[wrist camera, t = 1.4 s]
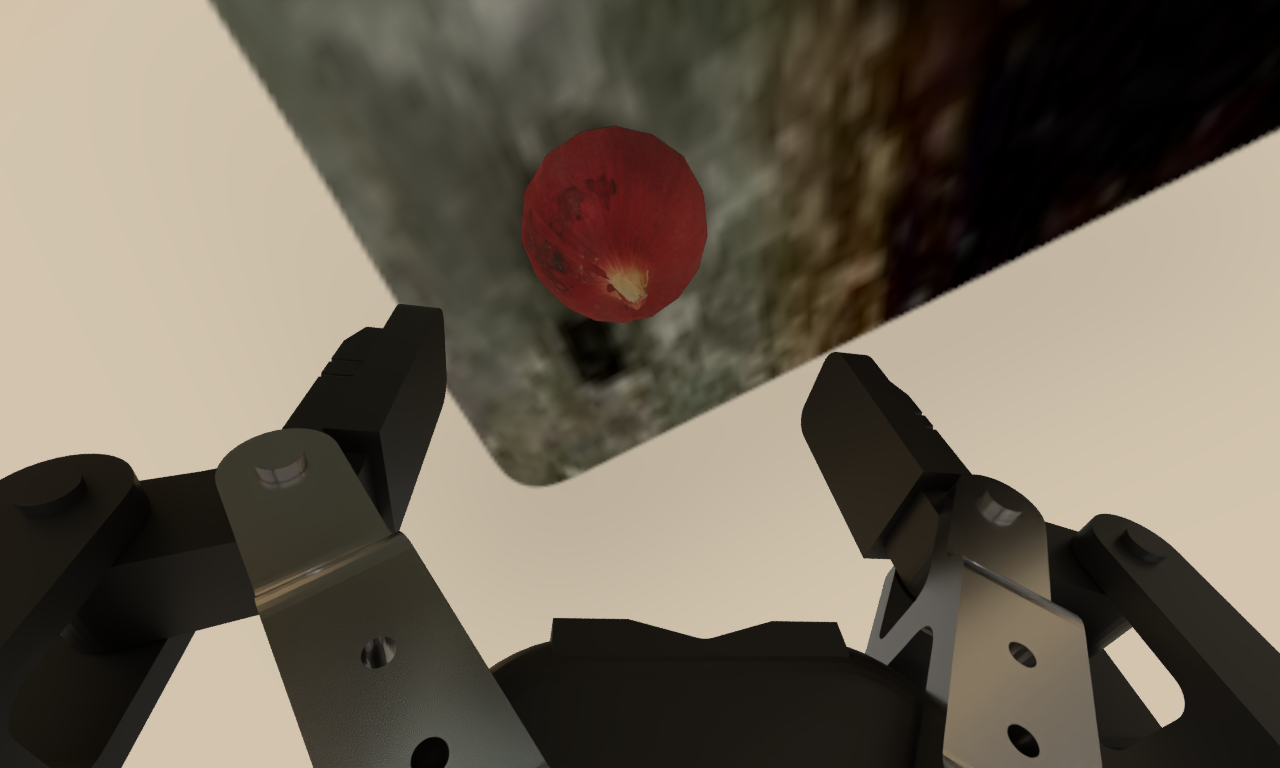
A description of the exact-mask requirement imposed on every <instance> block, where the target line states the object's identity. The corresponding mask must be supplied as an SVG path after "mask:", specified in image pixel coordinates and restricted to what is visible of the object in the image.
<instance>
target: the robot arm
mask: <svg viewBox="0 0 1280 768" xmlns="http://www.w3.org/2000/svg"><path fill="white" fill-rule="evenodd" d="M446 381H447V373H446V354H445V336H444V318H443V313H442V310H441V309H440V308H433V307H423V306H414V305H405V304H398V305H397V306H396V308H395V310H394V311H393V313H392V315H391V316H390V318H389V320H388V321H387V323H386V324H385V326H384V328H372V327H366V328H364V329H362V330H360V331H359V332H357V333H356V334H354V335H352V336H351V337H349V338H347V339H346V340H344V341H343V343H342V344H341V346H340V347H339V348H338V350H337V351H336V353H335V354H334V355H333V357H332V361H331V362H329V363H328V364H327V365H326V367H325V368H324V370H323V371H322V373H321V377H318V378H317V380H316V381H315V383H314V384H313V386H312V387H311V388H310V390H309V391H308V393H307V394H306V395H305V397H304V398H303V400H302V401H301V403H300V404H299V406H298V407H297V408H296V410H295V411H294V413H293V414H292V415H291V417H290V418H289V420H288V421H287V423H286V424H285V426H284V427H283V428H282V430H276V431H272V432H268V433H264V434H262V435H259V436H256V437H254V438H251V439H250V440H247V441H245V442H244V443H242V444H240V445H238V446H237V447H236V448H234V449H233V450H232V451H230V452H229V453H228V454H227V455H226V456H225V457H224V458H223V460H222V461H221V463H220V464H219V466H218V468H216V469H212V470H206V471H201V472H195V473H188V474H181V475H175V476H168V477H163V478H155V479H149V480H142V481H139V480H138V478H137V476H136V475H135V473H134V471H133V470H132V468H131V466H130V465H129V464H128V463H127V462H125V461H124V460H122V459H120V458H117V457H115V456H110V455H103V454H79V455H70V456H65V457H60V458H55V459H51V460H47V461H44V462H40V463H37V464H35V465H32V466H29V467H26V468H24V469H22V470H19V471H17V472H15V473H13V474H11V475H9V476H7V477H5V478H3V479H1V480H0V768H121V767H122V765H123V763H124V762H125V760H126V758H127V756H128V754H129V752H130V751H131V749H132V747H133V745H134V743H135V742H136V740H137V738H138V736H139V734H140V732H141V731H142V729H143V727H144V725H145V723H146V721H147V719H148V718H149V716H150V714H151V712H152V710H153V708H154V707H155V705H156V703H157V701H158V699H159V697H160V696H161V694H162V692H163V690H164V688H165V686H166V684H167V683H168V681H169V679H170V677H171V675H172V673H173V672H174V669H175V668H176V666H177V664H178V662H179V661H180V659H181V657H182V655H183V653H184V651H185V649H186V647H187V646H188V644H189V642H190V640H191V638H192V637H193V635H194V633H195V631H197V630H201V629H205V628H209V627H213V626H216V625H221V624H224V623H228V622H232V621H236V620H240V619H244V618H248V617H251V616H256V615H260V618H261V621H262V624H263V626H264V629H265V632H266V635H267V638H268V641H269V644H270V646H271V649H272V652H273V655H274V657H275V661H276V663H277V666H278V669H279V672H280V675H281V678H282V680H283V683H284V686H285V689H286V692H287V694H288V697H289V700H290V703H291V706H292V708H293V711H294V714H295V717H296V720H297V723H298V726H299V728H300V731H301V734H302V737H303V740H304V742H305V745H306V748H307V751H308V754H309V757H310V760H311V762H312V765H313V768H1280V653H1279V652H1278V651H1277V650H1275V648H1274V647H1273V646H1271V644H1270V643H1269V642H1268V641H1267V640H1266V639H1265V638H1264V637H1263V636H1262V635H1261V634H1260V633H1259V632H1258V631H1257V630H1256V629H1255V628H1254V627H1252V625H1251V624H1250V623H1249V622H1247V620H1246V619H1245V618H1244V617H1243V616H1241V614H1240V613H1238V612H1237V610H1236V609H1235V608H1234V607H1233V606H1231V604H1230V603H1228V602H1227V601H1226V599H1224V597H1223V596H1222V595H1220V594H1219V593H1218V592H1217V591H1216V590H1215V589H1214V588H1213V587H1212V586H1211V585H1210V584H1209V583H1208V582H1207V581H1206V580H1205V579H1204V578H1203V577H1202V576H1201V575H1200V574H1199V573H1198V572H1197V571H1196V570H1195V569H1194V568H1193V567H1192V566H1191V565H1190V564H1189V563H1188V562H1187V561H1186V560H1185V559H1184V558H1183V557H1182V556H1181V555H1180V554H1179V553H1178V552H1177V551H1176V550H1175V549H1174V548H1173V547H1172V546H1171V545H1170V544H1168V543H1167V542H1166V541H1164V540H1163V539H1162V538H1161V537H1159V536H1158V535H1156V534H1155V533H1153V532H1151V531H1150V530H1148V529H1147V528H1145V527H1143V526H1141V525H1139V524H1137V523H1135V522H1133V521H1131V520H1128V519H1126V518H1123V517H1120V516H1116V515H1111V514H1099V515H1096V516H1095V517H1094V518H1093V519H1091V520H1090V521H1089V522H1088V523H1087V525H1085V526H1084V527H1083V528H1082V529H1081V530H1080V531H1079V532H1077V531H1074V530H1071V529H1067V528H1064V527H1061V526H1058V525H1054V524H1051V523H1048V522H1045V521H1044V519H1043V517H1042V515H1041V514H1040V512H1039V511H1038V510H1037V508H1036V507H1035V506H1034V505H1033V504H1032V503H1031V502H1030V501H1029V500H1028V499H1027V498H1026V497H1024V496H1023V495H1022V494H1020V493H1019V492H1018V491H1016V490H1015V489H1013V488H1011V487H1010V486H1008V485H1006V484H1004V483H1002V482H1000V481H998V480H995V479H992V478H989V477H986V476H981V475H972V474H971V473H970V471H969V470H968V469H967V468H966V466H965V465H964V464H963V463H962V462H961V460H960V459H959V458H958V457H957V455H956V454H955V453H954V452H953V450H952V449H951V448H950V447H949V445H948V444H947V443H946V442H945V440H944V439H943V438H942V437H941V435H940V434H939V433H938V432H937V430H933V425H932V424H931V423H930V422H929V420H928V419H927V418H926V417H925V416H922V412H921V410H920V409H919V408H918V407H917V405H916V404H915V403H914V402H913V401H912V399H911V398H910V397H909V396H908V395H907V394H906V393H905V392H903V391H902V390H901V389H899V388H898V387H897V386H895V385H894V384H893V383H891V382H890V381H889V380H888V378H887V377H886V376H885V374H884V373H883V372H882V371H881V369H880V368H879V367H878V365H877V364H876V363H875V362H874V360H873V359H872V358H871V357H869V356H867V355H859V354H850V353H841V352H833V353H831V354H829V356H828V357H827V358H826V359H825V361H824V363H823V366H822V368H821V370H820V372H819V374H818V377H817V379H816V381H815V383H814V386H813V388H812V390H811V392H810V394H809V396H808V399H807V401H806V403H805V405H804V408H803V411H802V417H801V428H802V433H803V435H804V437H805V440H806V442H807V444H808V446H809V448H810V450H811V452H812V454H813V456H814V458H815V460H816V462H817V464H818V466H819V468H820V470H821V472H822V474H823V476H824V478H825V480H826V483H827V485H828V487H829V489H830V491H831V493H832V495H833V497H834V499H835V501H836V503H837V505H838V507H839V509H840V511H841V513H842V515H843V517H844V519H845V521H846V523H847V525H848V527H849V529H850V531H851V533H852V535H853V537H854V540H855V542H856V544H857V545H858V547H859V549H860V552H861V554H862V556H863V558H871V559H891V561H892V563H893V564H894V566H893V568H892V569H891V570H890V572H889V573H888V574H887V576H886V579H885V582H884V585H883V589H882V593H881V597H880V600H879V604H878V608H877V612H876V616H875V619H874V623H873V627H872V631H871V634H870V638H869V642H868V646H867V649H866V652H865V654H864V653H862V652H859V651H857V650H854V649H852V648H849V647H846V644H845V642H844V639H843V637H842V634H841V632H840V629H839V627H838V624H837V622H789V621H788V622H787V621H771V622H768V623H764V624H761V625H757V626H753V627H750V628H746V629H743V630H739V631H735V632H732V633H728V634H725V635H721V636H718V637H714V638H710V639H700V638H696V637H692V636H688V635H685V634H681V633H677V632H674V631H670V630H666V629H663V628H659V627H655V626H651V625H648V624H644V623H640V622H637V621H633V620H629V619H581V618H553V624H552V631H551V638H550V641H549V642H545V643H542V644H538V645H534V646H532V647H529V648H527V649H524V650H522V651H519V652H517V653H515V654H513V655H511V656H509V657H507V658H506V659H504V660H502V661H500V662H498V663H497V664H495V665H494V666H492V667H491V668H490V669H489V668H488V667H487V665H486V664H485V662H484V660H483V659H482V657H481V655H480V654H479V652H478V651H477V649H476V647H475V646H474V644H473V642H472V641H471V639H470V638H469V636H468V634H467V633H466V631H465V630H464V628H463V626H462V625H461V623H460V621H459V620H458V618H457V616H456V615H455V613H454V612H453V610H452V608H451V607H450V605H449V603H448V602H447V600H446V599H445V597H444V595H443V594H442V592H441V590H440V589H439V587H438V586H437V584H436V582H435V581H434V579H433V577H432V576H431V574H430V573H429V571H428V569H427V568H426V566H425V564H424V563H423V561H422V560H421V558H420V556H419V555H418V553H417V551H416V550H415V548H414V547H413V545H412V544H411V542H410V541H409V539H408V538H407V537H406V536H405V535H404V534H403V533H402V532H400V531H399V530H400V527H401V524H402V521H403V518H404V515H405V512H406V509H407V507H408V504H409V501H410V498H411V495H412V493H413V490H414V486H415V484H416V481H417V478H418V475H419V472H420V470H421V466H422V464H423V461H424V458H425V455H426V452H427V450H428V447H429V444H430V441H431V438H432V435H433V432H434V429H435V426H436V423H437V421H438V418H439V415H440V412H441V409H442V406H443V403H444V399H445V392H446ZM1132 627H1133V628H1134V629H1135V630H1136V632H1137V633H1138V634H1139V635H1140V636H1141V638H1142V639H1143V640H1144V641H1145V643H1146V644H1147V645H1148V646H1149V648H1150V649H1151V650H1152V651H1153V653H1155V655H1156V656H1157V657H1158V659H1159V660H1160V661H1161V662H1162V664H1163V665H1164V666H1165V667H1166V669H1167V670H1168V671H1169V672H1170V673H1171V675H1172V676H1173V677H1174V678H1175V680H1176V681H1177V682H1178V684H1179V686H1180V688H1181V690H1182V692H1183V695H1184V699H1185V708H1184V712H1183V714H1182V715H1181V717H1180V718H1178V719H1177V720H1176V721H1174V722H1172V723H1170V724H1168V725H1167V726H1165V727H1163V728H1162V727H1161V726H1160V725H1159V723H1158V722H1157V721H1156V719H1155V718H1154V716H1153V715H1152V714H1151V712H1150V711H1149V710H1148V708H1147V707H1146V706H1145V704H1144V703H1143V702H1142V700H1141V699H1140V698H1139V696H1138V695H1137V694H1136V692H1135V691H1134V689H1133V688H1132V687H1131V685H1130V684H1129V683H1128V681H1127V680H1126V679H1125V677H1124V676H1123V675H1122V673H1121V672H1120V670H1119V669H1118V668H1117V666H1116V665H1115V664H1114V662H1113V661H1112V660H1111V658H1110V657H1109V656H1108V654H1107V653H1106V651H1105V650H1104V648H1105V647H1106V646H1108V645H1109V644H1110V643H1112V642H1113V641H1114V640H1116V639H1117V638H1118V637H1120V636H1121V635H1122V634H1124V633H1125V632H1126V631H1128V630H1129V629H1130V628H1132Z"/></svg>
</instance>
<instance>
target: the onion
mask: <svg viewBox="0 0 1280 768" xmlns="http://www.w3.org/2000/svg"><path fill="white" fill-rule="evenodd" d="M521 232H522V243H523V246H524V248H525V250H526V253H527V255H528V257H529V260H530V262H531V264H532V267H533V269H534V272H535V274H536V276H537V278H538V279H539V280H540V281H541V283H542V284H543V285H544V286H545V287H546V288H547V289H548V290H549V291H550V292H551V293H552V294H553V295H554V296H555V297H556V298H557V299H558V300H559V301H560V302H561V303H562V304H563V305H564V306H566V307H568V308H569V309H571V310H573V311H575V312H578V313H580V314H582V315H584V316H586V317H589V318H591V319H593V320H595V321H608V322H622V323H624V322H629V321H634V320H638V319H643V318H647V317H652V316H653V315H655V314H656V313H658V312H659V311H661V310H662V309H663V308H665V307H666V306H668V305H669V304H670V303H672V302H673V301H675V300H676V299H678V298H679V296H680V295H681V294H682V292H683V291H684V289H685V288H686V287H687V285H688V284H689V282H690V281H691V280H692V278H693V277H694V275H695V274H696V272H697V270H698V269H699V266H700V262H701V258H702V255H703V251H704V247H705V243H706V239H707V224H706V213H705V202H704V195H703V191H702V189H701V187H700V185H699V183H698V181H697V180H696V178H695V176H694V174H693V172H692V171H691V169H690V167H689V165H688V164H687V162H686V160H685V158H684V156H682V155H681V154H679V153H678V152H677V151H675V150H674V149H672V148H671V147H669V146H668V145H666V144H665V143H664V142H662V141H661V140H659V139H658V138H656V137H655V136H653V135H652V134H647V133H642V132H638V131H634V130H630V129H626V128H622V127H617V126H612V127H606V128H600V129H594V130H588V131H582V132H580V133H578V134H577V135H575V136H574V137H572V138H571V139H569V140H568V141H566V142H565V143H563V144H562V145H560V146H559V147H557V148H556V149H554V150H553V151H551V152H550V153H549V154H548V155H547V156H546V157H545V159H544V160H543V162H542V163H541V165H540V167H539V168H538V170H537V172H536V173H535V175H534V176H533V178H532V180H531V181H530V183H529V185H528V186H527V188H526V189H525V191H524V202H523V216H522V230H521Z"/></svg>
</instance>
